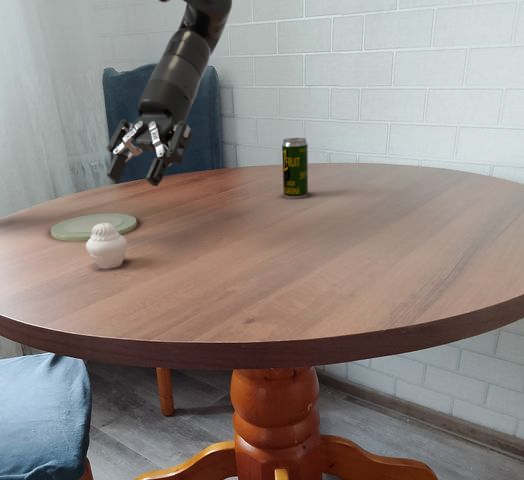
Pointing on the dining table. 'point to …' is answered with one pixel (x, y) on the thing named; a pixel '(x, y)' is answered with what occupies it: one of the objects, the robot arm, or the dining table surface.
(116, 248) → the muffin
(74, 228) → the plate
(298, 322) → the dining table surface
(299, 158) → the green drink can
